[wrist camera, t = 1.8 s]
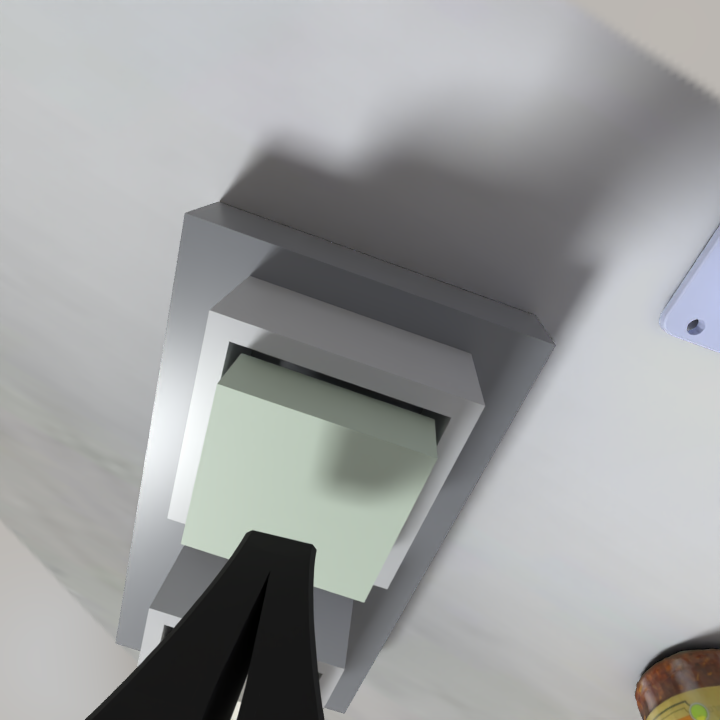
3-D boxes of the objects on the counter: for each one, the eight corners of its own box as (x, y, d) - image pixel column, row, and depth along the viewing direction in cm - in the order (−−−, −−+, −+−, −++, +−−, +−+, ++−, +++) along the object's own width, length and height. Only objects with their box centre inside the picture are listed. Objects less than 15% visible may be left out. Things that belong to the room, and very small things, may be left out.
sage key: (434, 419, 12) (437, 458, 10) (368, 554, 14) (364, 602, 13) (241, 352, 12) (217, 383, 10) (205, 501, 14) (180, 543, 12)
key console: (535, 315, 16) (591, 396, 11) (350, 660, 24) (334, 793, 20) (218, 201, 15) (125, 232, 10) (143, 595, 24) (73, 715, 19)
